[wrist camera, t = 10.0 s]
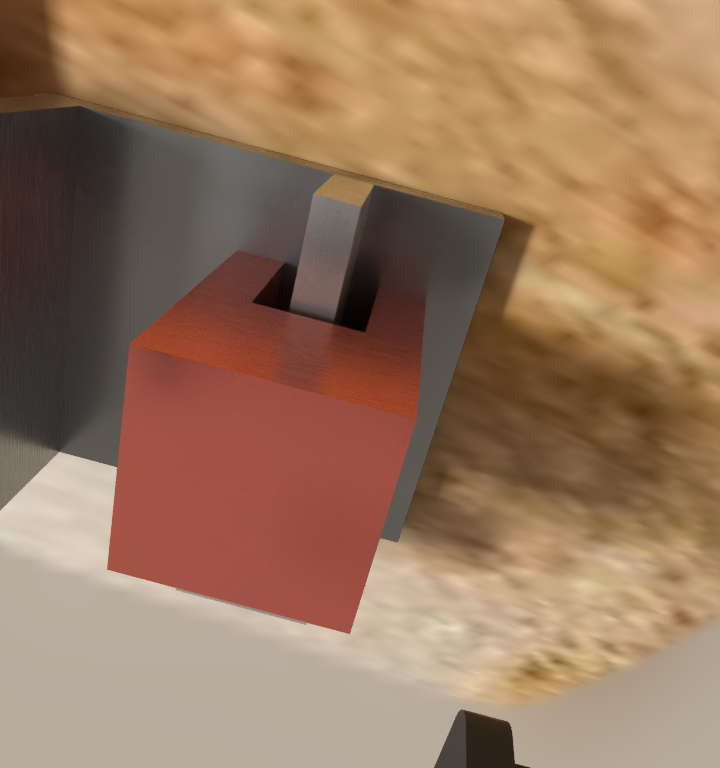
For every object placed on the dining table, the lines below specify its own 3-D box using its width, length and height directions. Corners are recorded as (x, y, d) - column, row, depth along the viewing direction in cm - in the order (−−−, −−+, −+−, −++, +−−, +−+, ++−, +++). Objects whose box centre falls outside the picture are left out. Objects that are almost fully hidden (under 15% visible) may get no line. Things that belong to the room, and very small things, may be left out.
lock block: (237, 250, 21) (129, 343, 14) (426, 300, 21) (416, 420, 14) (209, 417, 24) (106, 569, 17) (378, 461, 24) (349, 633, 17)
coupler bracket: (53, 92, 21) (-84, 101, 15) (502, 213, 21) (522, 263, 15) (39, 429, 26) (-68, 524, 21) (399, 525, 26) (387, 646, 21)
